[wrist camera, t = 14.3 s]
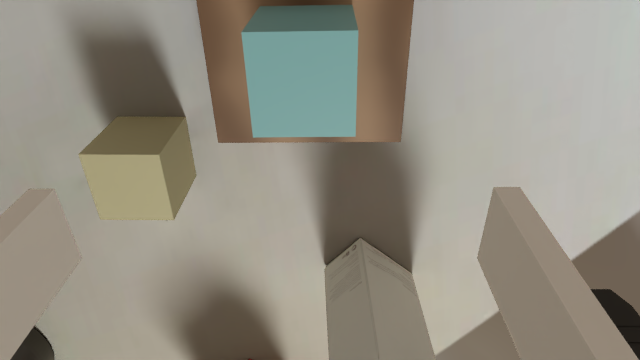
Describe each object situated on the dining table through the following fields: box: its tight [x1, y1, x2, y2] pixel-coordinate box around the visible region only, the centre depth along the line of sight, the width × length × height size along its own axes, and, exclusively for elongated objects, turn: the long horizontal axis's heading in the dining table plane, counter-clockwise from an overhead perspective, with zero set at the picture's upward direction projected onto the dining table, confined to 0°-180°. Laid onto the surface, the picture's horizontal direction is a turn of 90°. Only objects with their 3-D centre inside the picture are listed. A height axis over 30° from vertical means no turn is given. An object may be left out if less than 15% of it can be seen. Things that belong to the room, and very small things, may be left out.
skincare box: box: [325, 238, 436, 360], centre depth 41 cm, size 8×6×15 cm
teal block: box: [241, 5, 358, 138], centre depth 27 cm, size 6×6×7 cm
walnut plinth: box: [196, 0, 414, 143], centre depth 32 cm, size 14×14×5 cm
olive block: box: [78, 117, 196, 220], centre depth 37 cm, size 6×6×7 cm
